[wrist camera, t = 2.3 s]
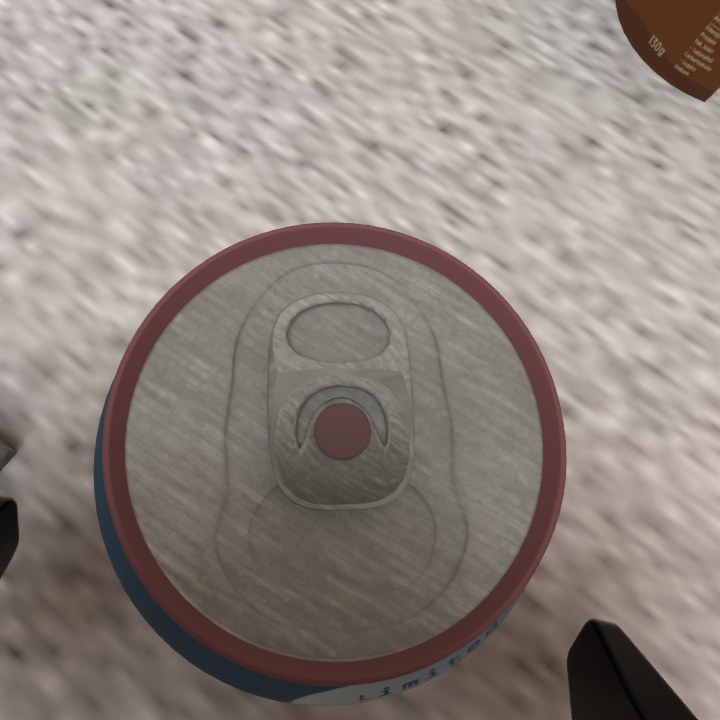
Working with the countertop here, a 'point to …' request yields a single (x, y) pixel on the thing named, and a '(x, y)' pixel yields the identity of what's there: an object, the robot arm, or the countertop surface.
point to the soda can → (329, 463)
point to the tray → (5, 454)
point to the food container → (677, 40)
